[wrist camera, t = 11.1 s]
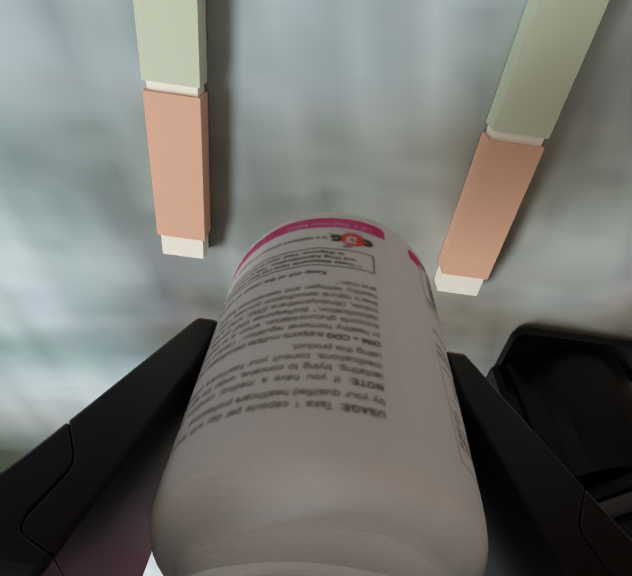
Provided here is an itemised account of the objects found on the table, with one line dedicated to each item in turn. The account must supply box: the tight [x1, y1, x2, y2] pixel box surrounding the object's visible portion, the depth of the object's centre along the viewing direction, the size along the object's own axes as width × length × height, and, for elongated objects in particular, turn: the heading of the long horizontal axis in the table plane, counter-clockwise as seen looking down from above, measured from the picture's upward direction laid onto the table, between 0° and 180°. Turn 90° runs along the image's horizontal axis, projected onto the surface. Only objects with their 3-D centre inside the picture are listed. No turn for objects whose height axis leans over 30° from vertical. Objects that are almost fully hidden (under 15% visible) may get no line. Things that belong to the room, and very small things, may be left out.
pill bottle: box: [149, 213, 488, 576], centre depth 8 cm, size 5×5×8 cm
